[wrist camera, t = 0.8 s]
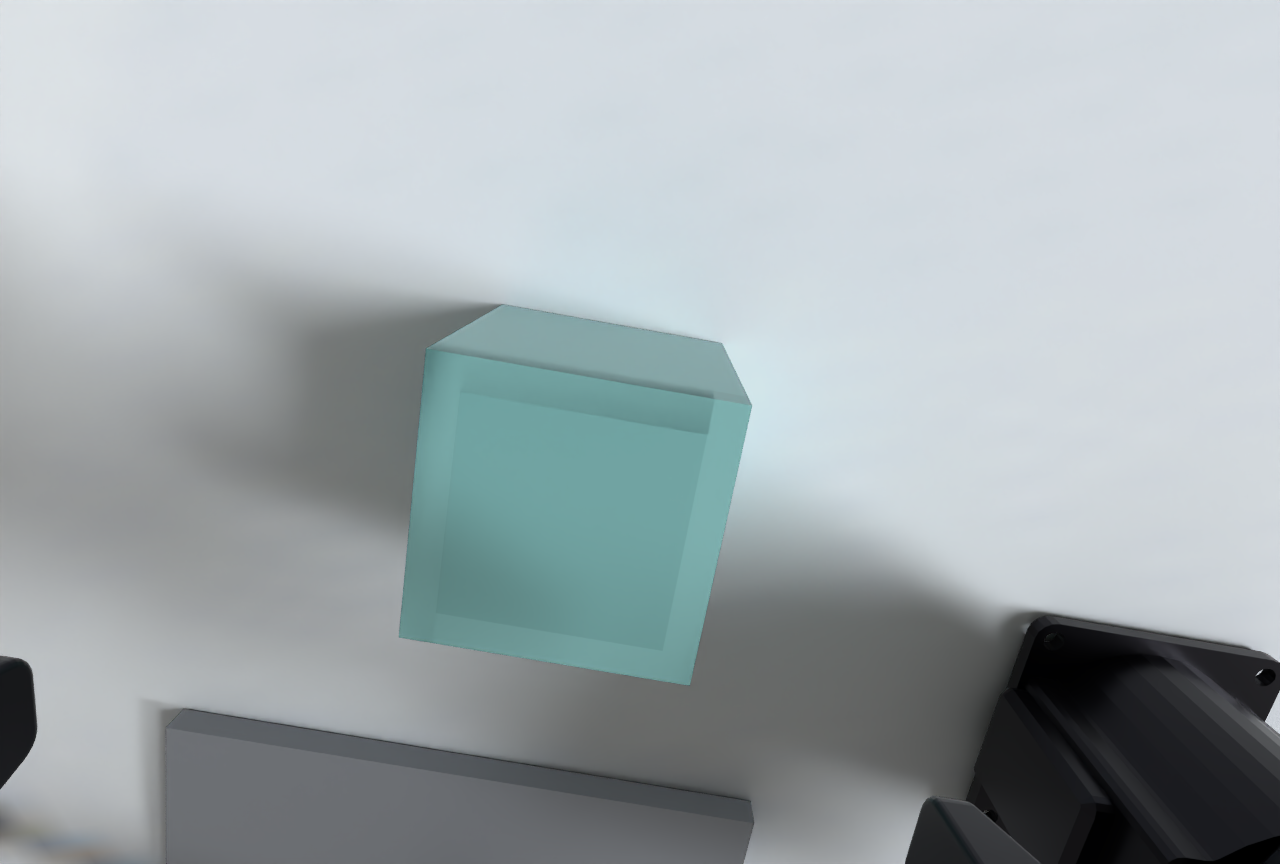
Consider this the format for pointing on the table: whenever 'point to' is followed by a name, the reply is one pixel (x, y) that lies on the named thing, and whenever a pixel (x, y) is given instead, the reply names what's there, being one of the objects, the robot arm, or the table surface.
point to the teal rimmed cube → (571, 492)
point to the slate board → (416, 805)
